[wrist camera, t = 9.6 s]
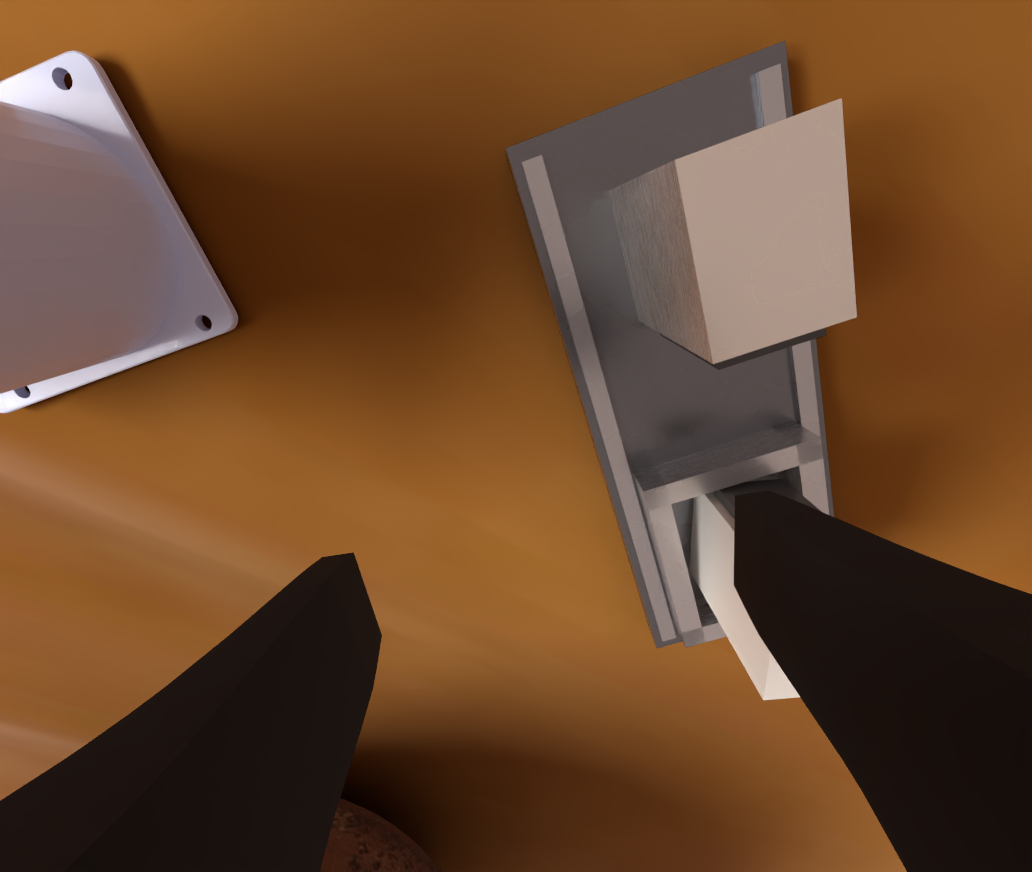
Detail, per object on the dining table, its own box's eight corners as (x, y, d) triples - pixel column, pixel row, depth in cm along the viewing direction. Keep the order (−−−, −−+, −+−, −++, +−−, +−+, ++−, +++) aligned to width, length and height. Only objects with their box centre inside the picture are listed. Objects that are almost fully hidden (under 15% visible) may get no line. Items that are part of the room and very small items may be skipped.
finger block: (689, 569, 20) (763, 700, 14) (695, 472, 18) (782, 576, 12) (763, 563, 20) (866, 691, 14) (775, 465, 18) (899, 566, 12)
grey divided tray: (650, 631, 22) (712, 793, 16) (505, 153, 15) (509, 86, 8) (827, 582, 21) (970, 731, 15) (766, 53, 14) (993, -107, 8)
